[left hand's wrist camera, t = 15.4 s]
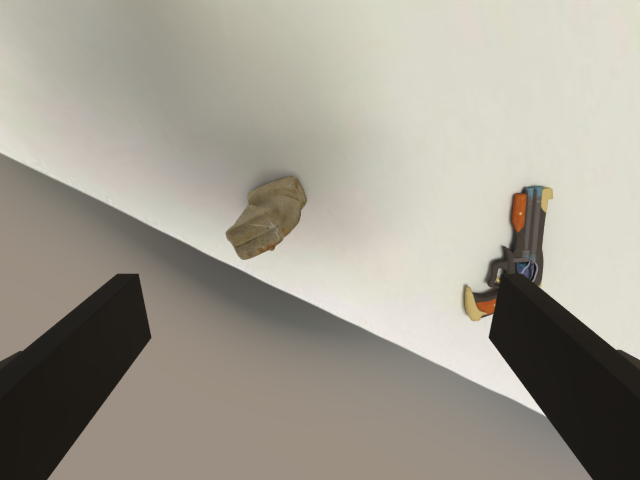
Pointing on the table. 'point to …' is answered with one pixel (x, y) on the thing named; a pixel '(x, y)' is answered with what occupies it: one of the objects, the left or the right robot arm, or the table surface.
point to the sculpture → (267, 217)
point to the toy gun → (517, 249)
